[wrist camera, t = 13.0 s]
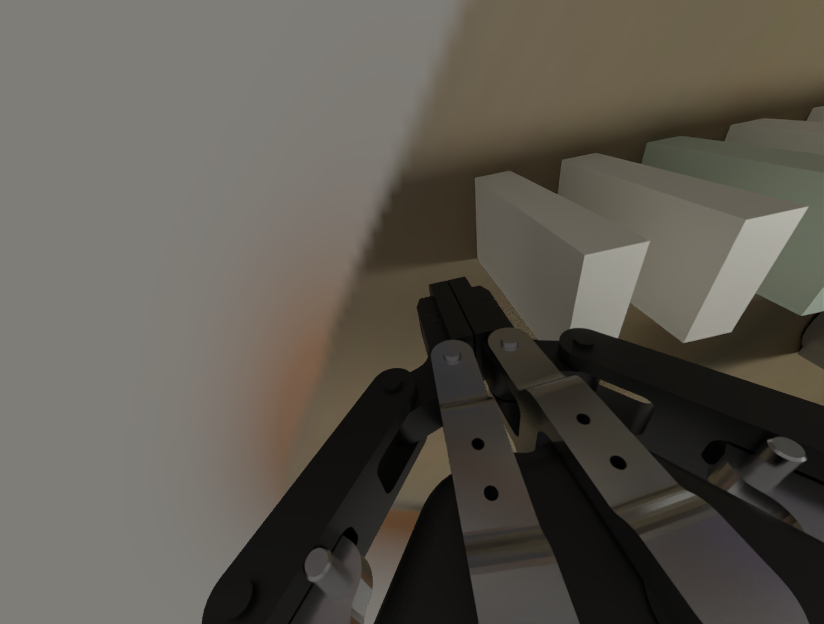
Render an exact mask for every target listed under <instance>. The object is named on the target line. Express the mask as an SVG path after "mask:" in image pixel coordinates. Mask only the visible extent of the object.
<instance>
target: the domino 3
mask: <svg viewBox="0 0 824 624" xmlns="http://www.w3.org/2000/svg"><path fill="white" fill-rule="evenodd" d="M724 142H732V143H739V144H747V145H754V146H762V147H769V148H776V149H784V150H791V151H799V152H806V153H814V154H821V155H824V122H815V121H800V120H784V119H769V118H762V119H757V120H753V121H748V122H743V123H738V124H733V125H731V126H730V128H729V131H728V133H727V136H726V138H725V141H724Z"/></svg>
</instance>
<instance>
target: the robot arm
mask: <svg viewBox="0 0 824 624" xmlns="http://www.w3.org/2000/svg"><path fill="white" fill-rule="evenodd" d="M429 290H430V297H426V298H421V299H419V302H418V305H417V311H418V316H419V322H420V327H421V332H422V337H423V340H424V344H425V348H426V351H427V355H428V358H427V360H426V362H425V363H424V364H423V365H422V366H420V367H419V368H417V369H415V370H414V371H412V372H409V371H407V370H405V369H401V368H393V369H388V370H386V371H383V372H382V373H380V374H379V375H378V376H377V377H376V378H375V379H374V380H373V381H372V383H371V384H370V385H369V387H368V388H367V389H366V390H365V392H364V393H363V394H362V396H361V397H360V398H359V400H358V401H357V402H356V403H355V405H354V406H353V407H352V409H351V410H350V411H349V412H348V414H347V415H346V416H345V418H344V419H343V420H342V421H341V423H340V424H339V425H338V427H337V428H336V429H335V431H334V432H333V433H332V434H331V436H330V437H329V438H328V440H327V441H326V442H325V443H324V445H323V446H322V447H321V449H320V450H319V451H318V452H317V454H316V455H315V456H314V458H313V459H312V460H311V462H310V463H309V464H308V465H307V467H306V468H305V469H304V471H303V472H302V473H301V474H300V476H299V477H298V478H297V480H296V481H295V482H294V483H293V485H292V486H291V487H290V489H289V490H288V491H287V493H286V494H285V495H284V496H283V498H282V499H281V500H280V502H279V503H278V504H277V505H276V507H275V508H274V509H273V511H272V512H271V513H270V514H269V516H268V517H267V518H266V520H265V521H264V522H263V524H262V525H261V526H260V528H259V529H258V530H257V531H256V533H255V534H254V535H253V537H252V538H251V539H250V540H249V542H248V543H247V544H246V546H245V547H244V548H243V549H242V551H241V552H240V553H239V555H238V556H237V557H236V558H235V560H234V561H233V563H232V564H231V565H230V566H229V567H228V569H227V570H226V571H225V573H224V574H223V575H222V577H221V578H220V579H219V581H218V582H217V583H216V585H215V587H214V588H213V590H212V592H211V594H210V596H209V598H208V600H207V603H206V606H205V609H204V613H203V617H202V624H364V617H365V612H366V609H367V606H368V603H369V600H370V598H371V594H372V588H373V576H372V571H371V568H370V565H369V563H368V561H367V560H366V559H365V555H366V553H367V552H368V550H369V548H370V546H371V544H372V542H373V540H374V538H375V536H376V535H377V533H378V531H379V529H380V527H381V525H382V523H383V521H384V519H385V517H386V515H387V514H388V512H389V510H390V508H391V506H392V504H393V502H394V500H395V499H396V497H397V495H398V493H399V491H400V489H401V487H402V485H403V483H404V482H405V480H406V478H407V476H408V474H409V472H410V470H411V468H412V466H413V465H414V463H415V461H416V459H417V457H418V455H419V453H420V451H421V449H422V447H423V446H424V444H425V442H426V439H427V436H428V435H429V434H431V433H433V432H434V431H436V430H438V429H439V428H441V427H442V426H443V430H444V436H445V441H446V447H447V452H448V458H449V464H450V470H451V474H450V475H449V476H448V477H446V478H445V479H444V480H442V481H441V482H440V483H439V484H438V485H437V486H436V487H435V489H434V490H433V491H432V493H431V494H430V495H429V497H428V499H427V500H426V502H425V504H424V506H423V508H422V510H421V512H420V515H419V517H418V520H417V522H416V524H415V527H414V529H413V531H412V534H411V536H410V539H409V541H408V543H407V546H406V548H405V550H404V553H403V555H402V558H401V560H400V562H399V565H398V567H397V570H396V572H395V574H394V577H393V579H392V581H391V584H390V587H389V589H388V591H387V594H386V596H385V598H384V600H383V603H382V605H381V608H380V610H379V613H378V615H377V617H376V620H375V622H374V624H824V406H822V405H819V404H816V403H813V402H810V401H807V400H804V399H801V398H798V397H795V396H792V395H789V394H786V393H782V392H779V391H776V390H773V389H770V388H767V387H764V386H761V385H758V384H755V383H752V382H749V381H746V380H743V379H740V378H737V377H734V376H731V375H728V374H725V373H722V372H718V371H715V370H712V369H709V368H706V367H703V366H700V365H697V364H694V363H691V362H688V361H685V360H682V359H679V358H676V357H673V356H670V355H667V354H664V353H661V352H658V351H654V350H651V349H648V348H645V347H642V346H639V345H636V344H633V343H630V342H627V341H624V340H621V339H618V338H615V337H612V336H609V335H606V334H603V333H600V332H597V331H594V330H590V329H586V328H572V329H568V330H566V331H564V332H563V333H562V334H561V336H560V338H559V341H553V340H534V339H532V338H531V337H530V336H529V335H528V334H527V333H526V332H524V331H522V330H520V329H516V328H514V327H513V325H512V324H511V322H510V321H509V319H508V318H507V316H506V315H505V313H504V312H503V311H502V309H501V308H500V306H499V305H498V303H497V302H496V300H494V297H493V296H492V294H491V293H490V291H488V290H487V289H485V288H483V287H481V286H476V287H471V285H470V284H469V282H468V280H467V279H466V277H461V278H456V279H452V280H447V281H443V282H438V283H434V284H429ZM798 355H800V356H802V357H803V358H805V359H807V360H809V361H810V362H812V363H814V364H815V365H817V366H819V367H820V368H822V369H824V311H822V312H821V313H820V314H819V315H818V316H817V317H816V318H815V319H814V320H813V322H812V323H811V324H810V325H809V327H808V328H807V329H806V331H805V333H804V335H803V338H802V349H801V350H800V351H799V352H798ZM600 379H601V380H603V381H606V382H608V383H611V384H613V385H615V386H618V387H620V388H623V389H625V390H628V391H630V392H632V393H635V394H637V395H640V396H642V397H644V398H646V399H648V400H649V401H650V402H651V403H650V404H646V403H642V402H639V401H637V400H634V399H632V398H630V397H627V396H625V395H623V394H620V393H618V392H616V391H613V390H611V389H608V388H606V387H604V386H601V385H599V382H600ZM484 380H486V382H487V384H488V386H489V395H488V393H487V390H486V387H485V384H484ZM504 426H505V427H504ZM505 428H506V430H507V431H508V433H509V435H510V437H511V439H512V441H513V443H514V445H515V448H516V451H517V453H514V452H513V450H512V447H511V444H510V441H509V438H508V436H507V433H506V430H505Z"/></svg>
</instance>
